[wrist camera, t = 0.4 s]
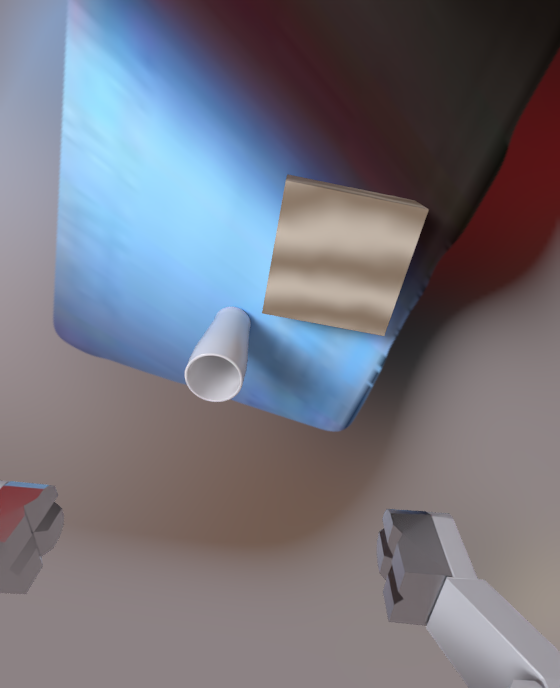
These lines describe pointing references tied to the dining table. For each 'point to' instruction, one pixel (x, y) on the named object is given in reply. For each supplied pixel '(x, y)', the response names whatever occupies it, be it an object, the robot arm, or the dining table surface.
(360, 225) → the birch block
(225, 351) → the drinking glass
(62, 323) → the dining table surface
